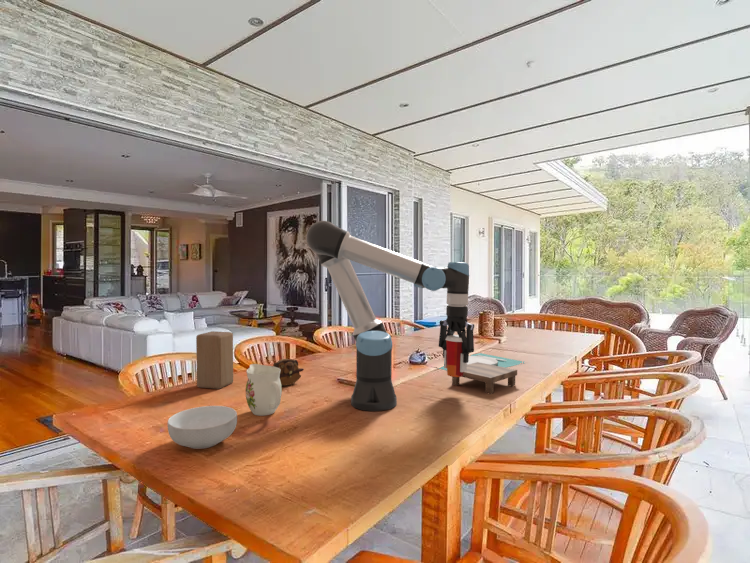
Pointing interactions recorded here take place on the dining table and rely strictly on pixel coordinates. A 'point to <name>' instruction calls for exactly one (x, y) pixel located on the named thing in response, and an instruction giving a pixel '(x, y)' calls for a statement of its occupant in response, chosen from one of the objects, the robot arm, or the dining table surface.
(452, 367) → the paper cup
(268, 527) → the dining table surface
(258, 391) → the pitcher
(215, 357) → the block
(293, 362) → the wooden carving
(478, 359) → the place mat
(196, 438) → the cereal bowl
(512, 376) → the walnut stand
